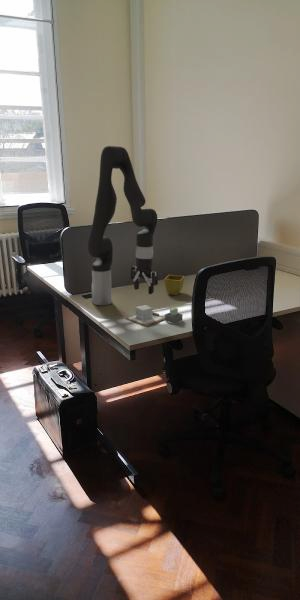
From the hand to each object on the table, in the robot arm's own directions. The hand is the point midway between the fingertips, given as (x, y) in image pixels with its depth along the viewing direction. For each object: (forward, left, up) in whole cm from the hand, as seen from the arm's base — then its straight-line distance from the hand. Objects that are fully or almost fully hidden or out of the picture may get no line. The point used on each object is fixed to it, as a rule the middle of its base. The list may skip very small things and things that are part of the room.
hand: (143, 291), depth 192 cm
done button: (+11, +8, -12) cm, 18 cm away
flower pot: (-13, +38, -13) cm, 43 cm away
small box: (0, 0, -13) cm, 13 cm away
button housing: (+11, +8, -13) cm, 19 cm away
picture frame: (+1, +1, -13) cm, 13 cm away
